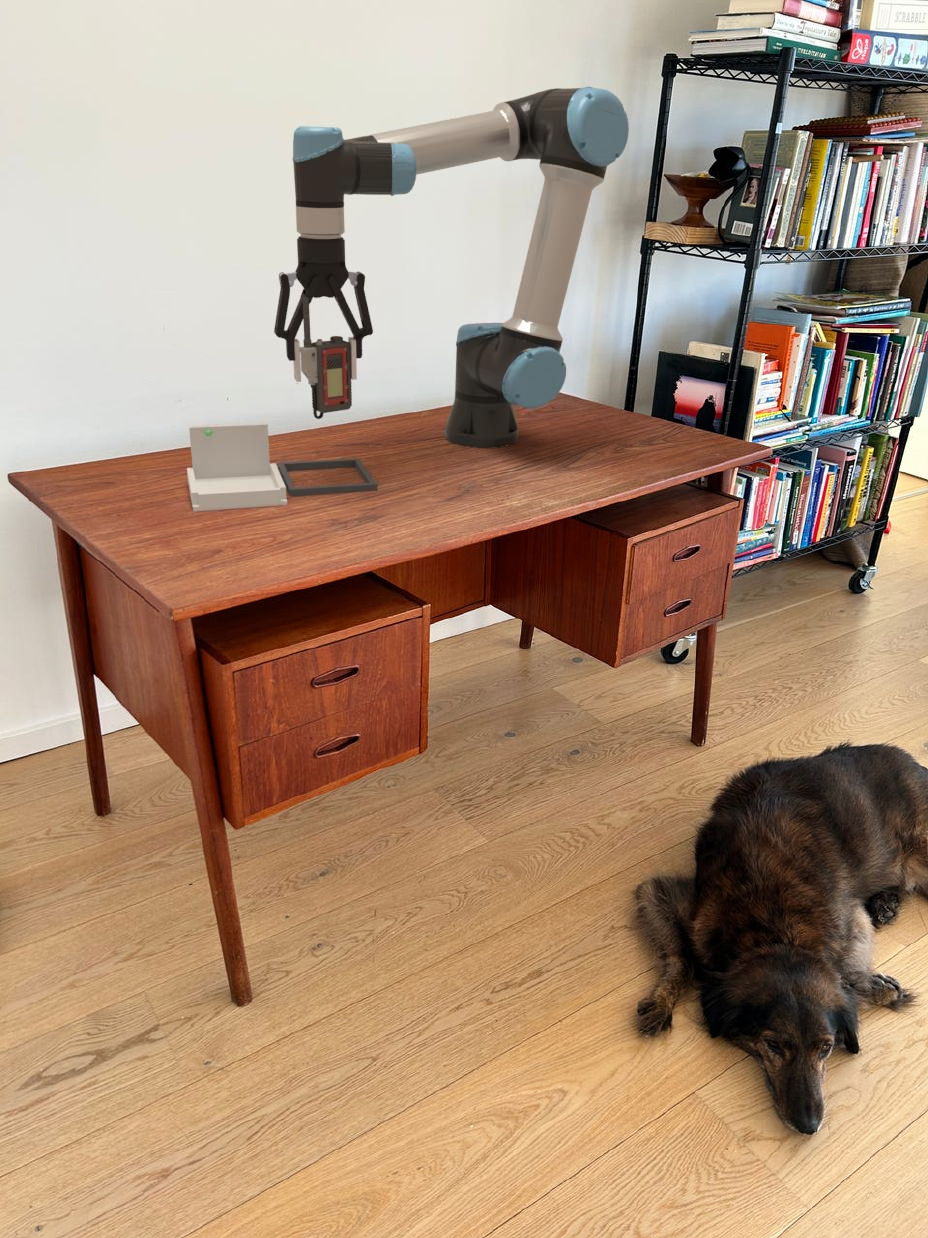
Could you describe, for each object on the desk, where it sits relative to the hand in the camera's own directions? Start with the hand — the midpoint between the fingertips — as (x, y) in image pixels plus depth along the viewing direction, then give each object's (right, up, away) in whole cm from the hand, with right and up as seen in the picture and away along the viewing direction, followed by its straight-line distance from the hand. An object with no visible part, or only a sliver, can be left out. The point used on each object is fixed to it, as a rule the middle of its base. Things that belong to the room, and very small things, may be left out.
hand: (325, 378), depth 163 cm
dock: (-15, -19, 0) cm, 25 cm away
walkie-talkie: (0, -6, +3) cm, 7 cm away
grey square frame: (-1, -16, +8) cm, 18 cm away
